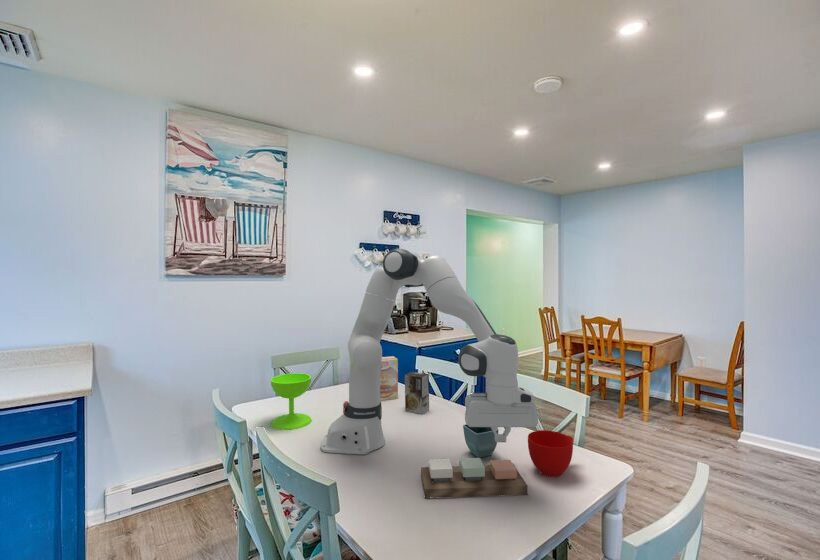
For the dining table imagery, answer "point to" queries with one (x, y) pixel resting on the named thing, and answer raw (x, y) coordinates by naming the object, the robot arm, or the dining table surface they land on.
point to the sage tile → (472, 468)
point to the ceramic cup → (550, 451)
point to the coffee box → (417, 392)
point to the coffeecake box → (389, 378)
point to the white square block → (440, 470)
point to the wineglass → (291, 399)
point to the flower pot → (480, 440)
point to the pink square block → (503, 469)
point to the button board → (472, 485)
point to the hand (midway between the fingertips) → (500, 441)
